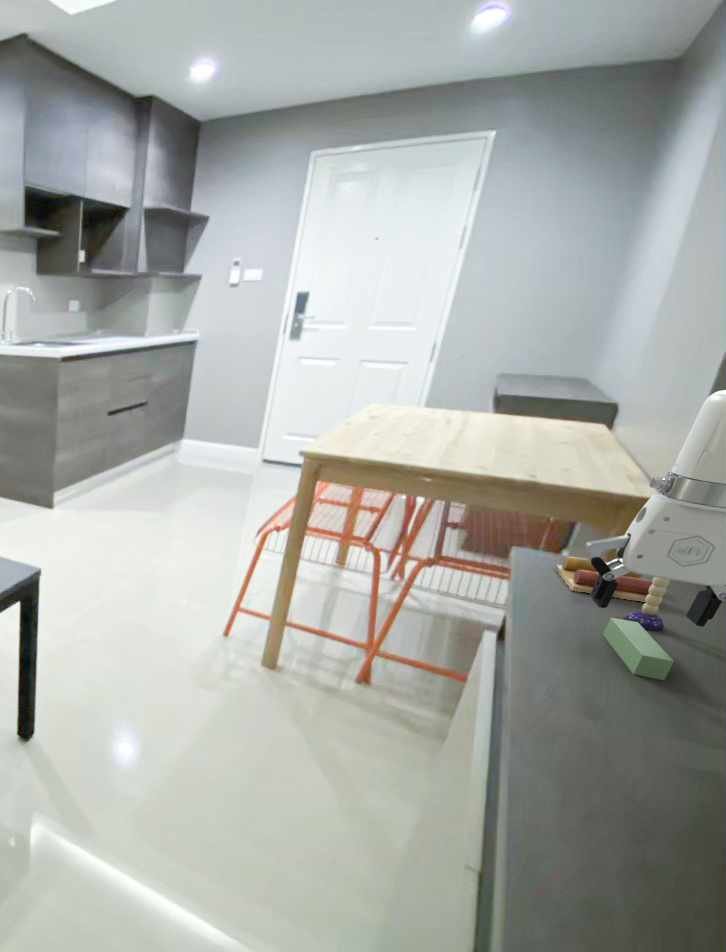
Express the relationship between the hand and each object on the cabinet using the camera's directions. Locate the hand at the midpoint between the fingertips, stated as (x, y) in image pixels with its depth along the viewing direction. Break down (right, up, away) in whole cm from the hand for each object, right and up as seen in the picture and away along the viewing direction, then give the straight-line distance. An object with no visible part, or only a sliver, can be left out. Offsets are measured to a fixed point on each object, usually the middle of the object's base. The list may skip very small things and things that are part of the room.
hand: (645, 612), depth 82 cm
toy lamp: (+12, -3, +11) cm, 17 cm away
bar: (+1, -6, +2) cm, 7 cm away
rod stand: (+19, +2, +24) cm, 30 cm away
